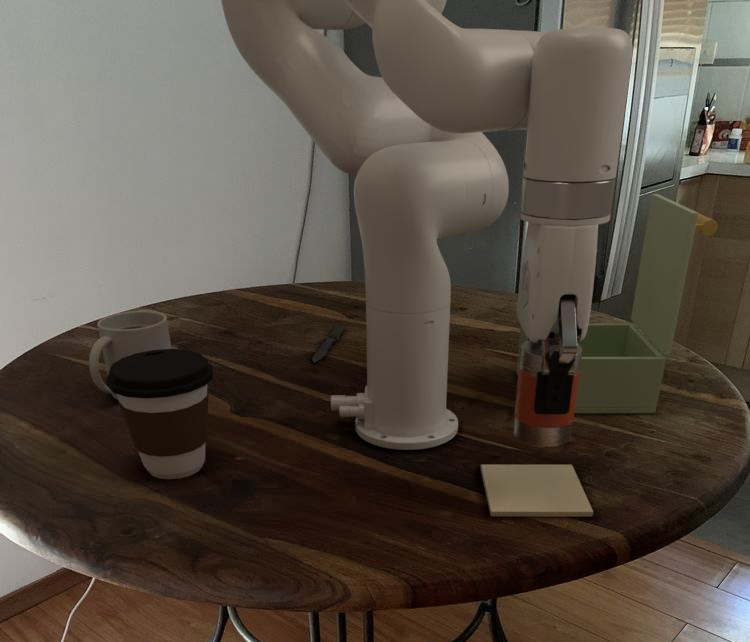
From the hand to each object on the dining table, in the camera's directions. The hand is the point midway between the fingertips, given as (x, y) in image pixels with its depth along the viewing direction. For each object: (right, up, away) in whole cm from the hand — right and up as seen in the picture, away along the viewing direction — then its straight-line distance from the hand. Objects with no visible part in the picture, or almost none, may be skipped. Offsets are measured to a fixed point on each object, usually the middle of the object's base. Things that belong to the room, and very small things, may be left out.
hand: (544, 397), depth 71 cm
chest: (+12, +5, +29) cm, 31 cm away
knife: (-24, +15, +47) cm, 55 cm away
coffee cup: (-39, -6, +11) cm, 41 cm away
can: (0, -3, +2) cm, 4 cm away
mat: (0, -9, +5) cm, 11 cm away
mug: (-49, +5, +30) cm, 58 cm away
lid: (+19, +19, +21) cm, 34 cm away
